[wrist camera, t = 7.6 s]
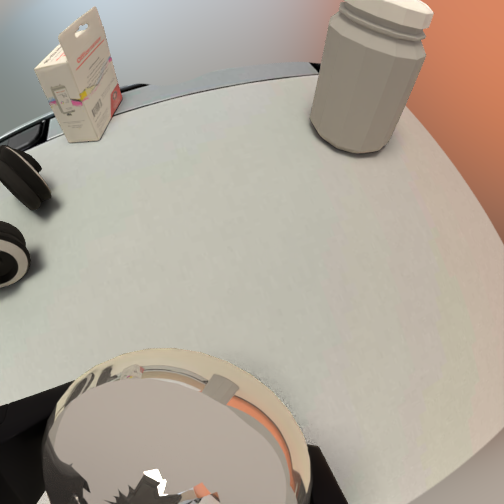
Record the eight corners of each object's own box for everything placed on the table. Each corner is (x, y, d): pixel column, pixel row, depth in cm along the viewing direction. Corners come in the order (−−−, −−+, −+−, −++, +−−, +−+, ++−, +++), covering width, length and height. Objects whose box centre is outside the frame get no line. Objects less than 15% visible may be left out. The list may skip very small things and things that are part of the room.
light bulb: (300, 457, 14) (422, 538, 3) (188, 518, 12) (115, 654, 1) (226, 353, 16) (205, 240, 6) (118, 413, 14) (-56, 394, 4)
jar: (344, 170, 31) (398, 11, 15) (291, 114, 35) (312, -28, 19) (401, 147, 34) (459, 21, 17) (350, 99, 37) (383, -20, 21)
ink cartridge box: (92, 101, 36) (65, 12, 23) (123, 98, 36) (100, 3, 23) (66, 144, 32) (23, 46, 19) (99, 142, 32) (60, 35, 19)
